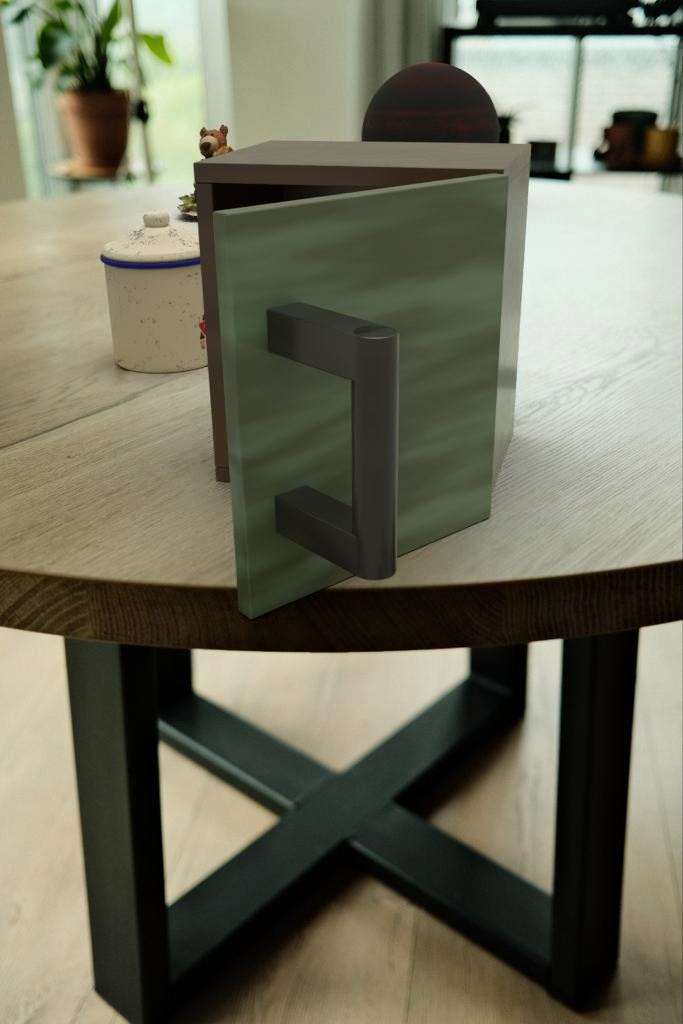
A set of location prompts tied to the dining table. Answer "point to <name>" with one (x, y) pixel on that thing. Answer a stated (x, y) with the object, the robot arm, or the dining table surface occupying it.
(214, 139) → the bear figurine
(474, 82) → the decorative orb
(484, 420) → the door
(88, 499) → the dining table surface
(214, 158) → the cupboard
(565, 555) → the dining table surface
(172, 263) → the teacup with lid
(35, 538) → the dining table surface
